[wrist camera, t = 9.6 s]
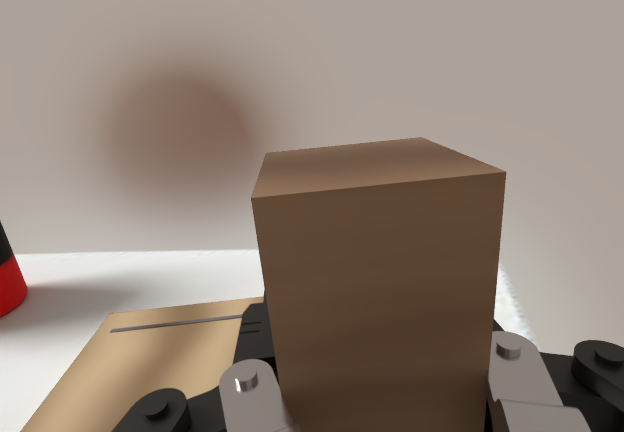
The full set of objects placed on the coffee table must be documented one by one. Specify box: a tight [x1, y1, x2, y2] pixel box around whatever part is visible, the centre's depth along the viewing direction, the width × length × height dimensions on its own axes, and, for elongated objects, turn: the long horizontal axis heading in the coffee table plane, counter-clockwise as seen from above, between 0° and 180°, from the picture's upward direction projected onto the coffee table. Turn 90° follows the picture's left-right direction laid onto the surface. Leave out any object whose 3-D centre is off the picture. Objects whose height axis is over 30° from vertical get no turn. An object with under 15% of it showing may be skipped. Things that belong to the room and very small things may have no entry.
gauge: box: [251, 137, 506, 432], centre depth 16 cm, size 15×4×13 cm, turn 4°
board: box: [20, 297, 264, 432], centre depth 21 cm, size 22×11×2 cm, turn 94°
